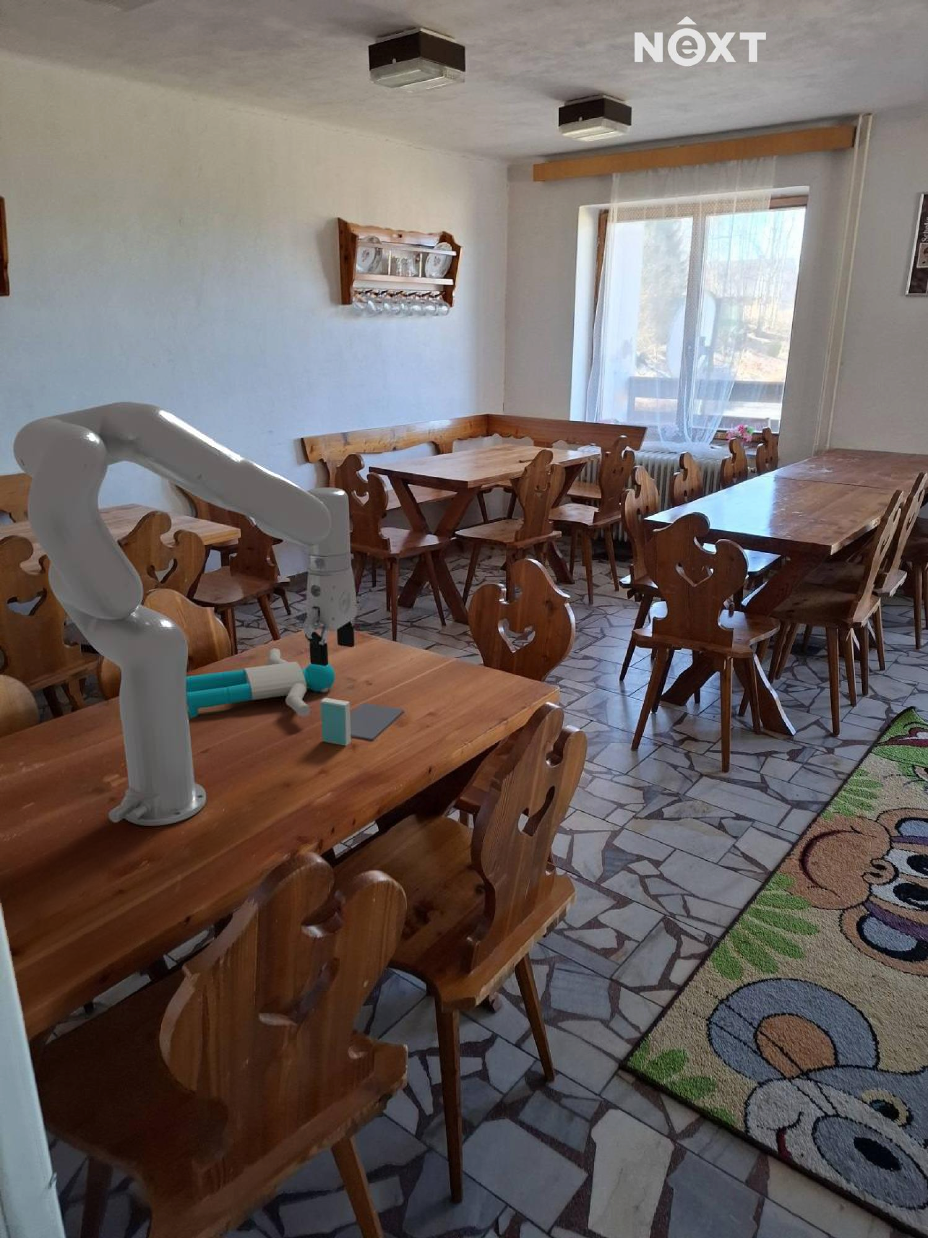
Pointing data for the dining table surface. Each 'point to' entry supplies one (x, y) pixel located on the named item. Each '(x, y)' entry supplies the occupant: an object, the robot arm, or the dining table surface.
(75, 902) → the dining table surface
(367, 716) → the mat
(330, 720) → the slab
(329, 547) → the robot arm
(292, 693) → the toy
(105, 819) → the dining table surface
